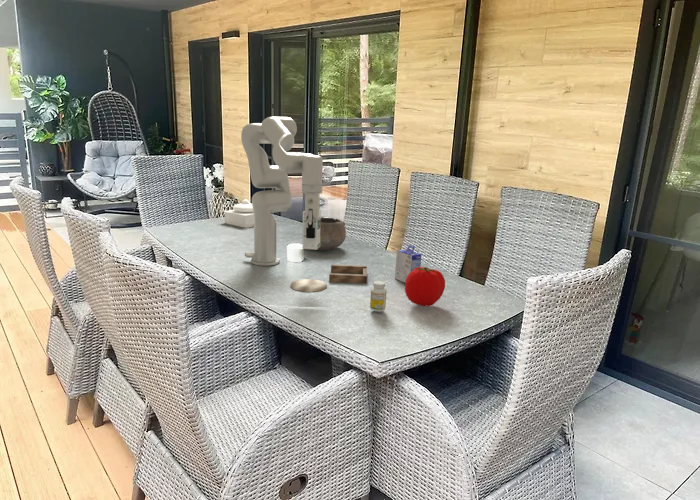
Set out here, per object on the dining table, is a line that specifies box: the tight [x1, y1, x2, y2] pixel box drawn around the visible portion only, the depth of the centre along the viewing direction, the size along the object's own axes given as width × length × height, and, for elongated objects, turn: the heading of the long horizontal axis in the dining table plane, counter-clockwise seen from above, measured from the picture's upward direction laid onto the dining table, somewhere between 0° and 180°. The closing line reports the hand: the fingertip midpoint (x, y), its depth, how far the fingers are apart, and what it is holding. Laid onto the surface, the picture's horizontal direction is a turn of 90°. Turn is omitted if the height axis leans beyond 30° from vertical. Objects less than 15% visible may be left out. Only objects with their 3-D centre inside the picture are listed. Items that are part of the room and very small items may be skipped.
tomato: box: [404, 266, 446, 307], centre depth 190 cm, size 16×14×14 cm
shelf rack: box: [328, 264, 368, 284], centre depth 219 cm, size 15×14×3 cm
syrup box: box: [302, 209, 322, 251], centre depth 201 cm, size 6×6×14 cm
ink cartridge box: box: [394, 244, 422, 284], centre depth 215 cm, size 10×6×14 cm, turn 34°
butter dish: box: [223, 198, 254, 229], centre depth 307 cm, size 18×18×16 cm
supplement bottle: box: [369, 280, 387, 312], centre depth 183 cm, size 5×5×10 cm
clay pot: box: [316, 217, 347, 251], centre depth 260 cm, size 21×21×15 cm
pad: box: [290, 278, 328, 293], centre depth 205 cm, size 14×14×1 cm
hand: (311, 235), depth 202 cm, fingers closed on syrup box, 6 cm apart
